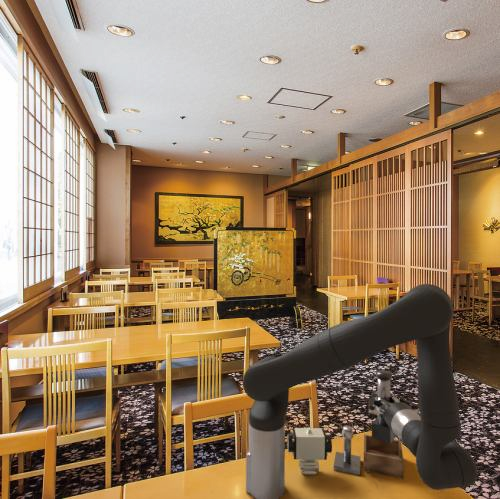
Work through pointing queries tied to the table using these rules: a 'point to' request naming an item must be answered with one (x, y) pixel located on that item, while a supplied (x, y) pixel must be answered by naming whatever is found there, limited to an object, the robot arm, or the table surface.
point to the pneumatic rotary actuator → (309, 447)
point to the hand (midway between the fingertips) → (379, 395)
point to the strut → (379, 424)
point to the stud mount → (347, 455)
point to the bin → (383, 457)
